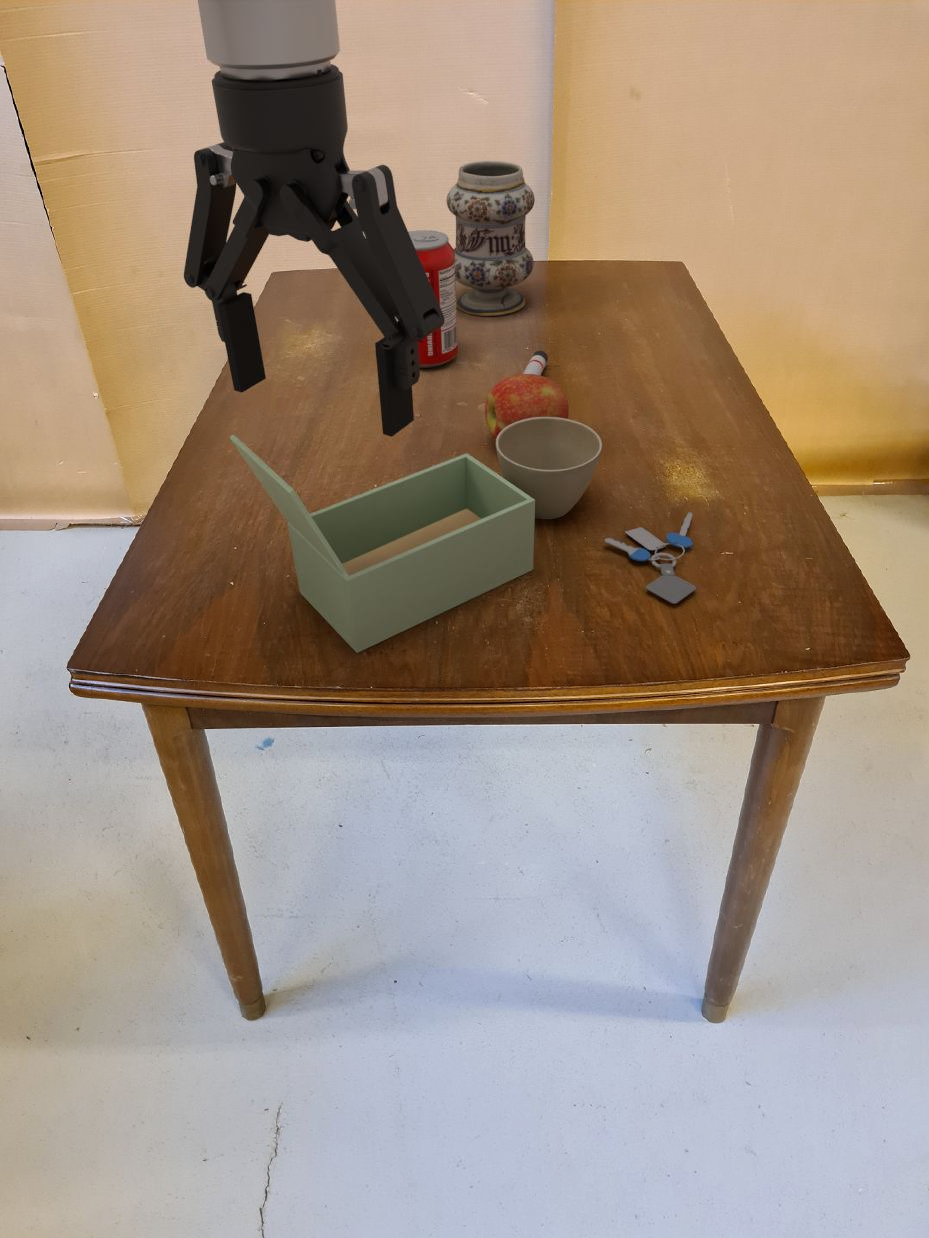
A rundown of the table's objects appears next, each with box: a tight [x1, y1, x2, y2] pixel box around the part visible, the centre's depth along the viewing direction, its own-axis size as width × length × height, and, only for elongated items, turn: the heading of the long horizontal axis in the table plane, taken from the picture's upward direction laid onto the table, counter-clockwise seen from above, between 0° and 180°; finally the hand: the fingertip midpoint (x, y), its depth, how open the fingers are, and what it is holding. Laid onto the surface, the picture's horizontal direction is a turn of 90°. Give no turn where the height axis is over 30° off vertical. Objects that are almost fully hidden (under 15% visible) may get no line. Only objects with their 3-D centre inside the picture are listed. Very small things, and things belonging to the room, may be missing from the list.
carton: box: [286, 453, 536, 654], centre depth 79 cm, size 18×10×8 cm, turn 126°
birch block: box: [342, 509, 481, 576], centre depth 80 cm, size 4×14×4 cm, turn 127°
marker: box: [522, 350, 549, 376], centre depth 108 cm, size 15×2×2 cm, turn 164°
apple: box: [484, 373, 570, 441], centre depth 97 cm, size 8×8×8 cm
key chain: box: [604, 511, 697, 605], centre depth 83 cm, size 14×8×1 cm, turn 170°
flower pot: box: [495, 417, 603, 520], centre depth 88 cm, size 10×10×7 cm
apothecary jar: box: [446, 160, 536, 317], centre depth 124 cm, size 12×12×18 cm
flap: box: [229, 434, 347, 575], centre depth 68 cm, size 9×10×1 cm
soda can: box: [395, 229, 459, 369], centre depth 112 cm, size 8×8×15 cm
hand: (321, 405), depth 66 cm, fingers open, 13 cm apart
